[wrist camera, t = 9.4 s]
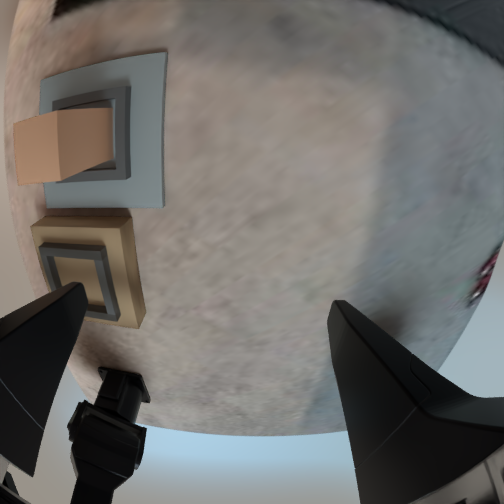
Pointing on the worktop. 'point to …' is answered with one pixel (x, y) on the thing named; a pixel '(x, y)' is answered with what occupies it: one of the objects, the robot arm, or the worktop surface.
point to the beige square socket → (93, 264)
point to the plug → (62, 144)
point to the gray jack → (115, 132)
